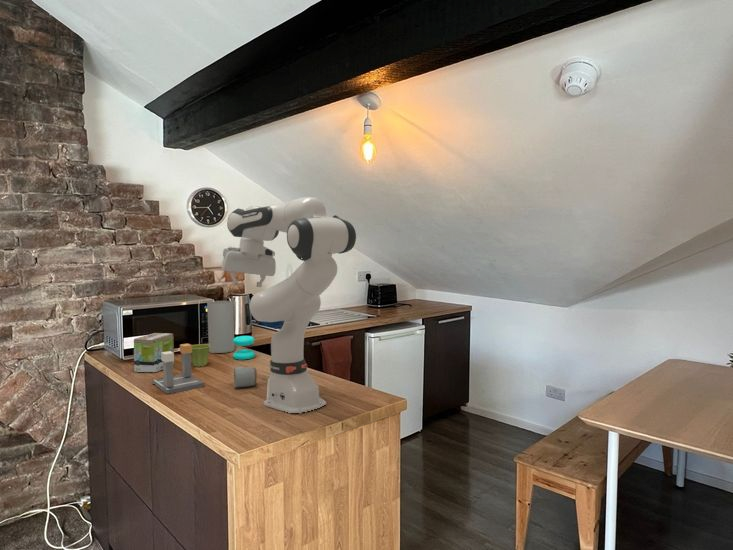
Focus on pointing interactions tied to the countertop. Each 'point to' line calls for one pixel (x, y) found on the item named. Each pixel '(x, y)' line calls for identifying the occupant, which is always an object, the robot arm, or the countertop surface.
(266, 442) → the countertop surface
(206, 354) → the plant pot
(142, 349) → the tea box
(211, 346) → the cylinder vase
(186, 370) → the orange fader
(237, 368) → the ceramic mug
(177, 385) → the plate
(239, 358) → the donuts
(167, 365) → the white fader
